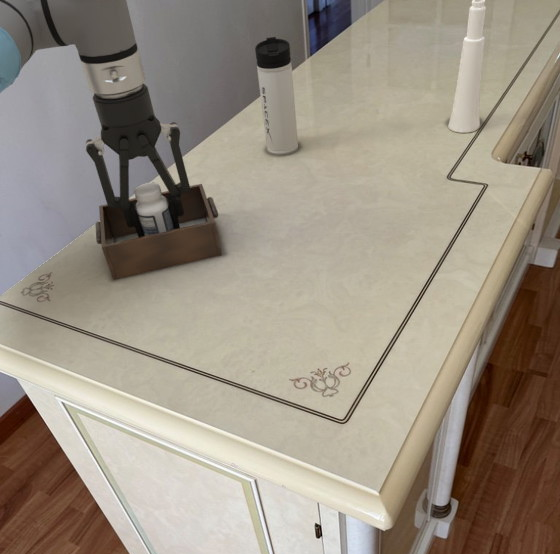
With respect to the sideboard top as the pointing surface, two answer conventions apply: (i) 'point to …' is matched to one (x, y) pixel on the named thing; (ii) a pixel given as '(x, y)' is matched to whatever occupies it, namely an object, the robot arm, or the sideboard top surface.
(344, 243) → the sideboard top surface
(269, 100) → the travel mug
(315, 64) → the sideboard top surface
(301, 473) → the sideboard top surface
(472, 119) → the cosmetic bottle
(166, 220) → the pill bottle
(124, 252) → the brown wooden open box
